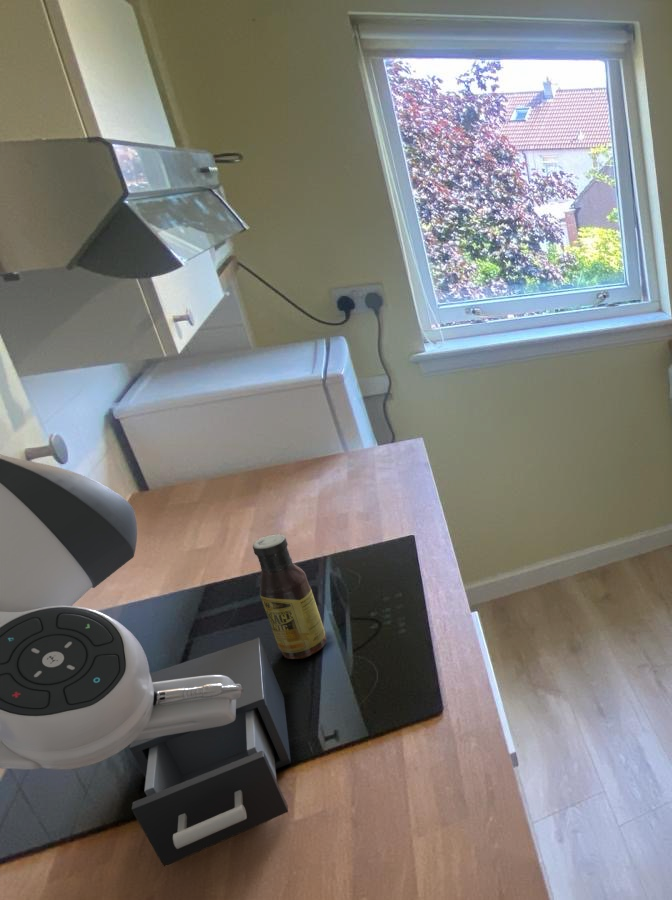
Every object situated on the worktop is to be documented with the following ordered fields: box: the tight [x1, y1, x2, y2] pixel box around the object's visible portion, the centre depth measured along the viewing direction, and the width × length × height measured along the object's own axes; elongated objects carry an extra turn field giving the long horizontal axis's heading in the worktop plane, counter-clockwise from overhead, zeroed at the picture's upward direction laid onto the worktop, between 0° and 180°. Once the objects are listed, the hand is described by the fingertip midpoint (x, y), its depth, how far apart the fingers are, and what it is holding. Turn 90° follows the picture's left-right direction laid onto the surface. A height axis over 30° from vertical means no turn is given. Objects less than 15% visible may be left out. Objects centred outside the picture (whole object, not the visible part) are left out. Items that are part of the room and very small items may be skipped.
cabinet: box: [128, 637, 292, 779], centre depth 94 cm, size 15×13×11 cm
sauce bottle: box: [252, 533, 328, 660], centre depth 111 cm, size 6×6×20 cm
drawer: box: [131, 708, 289, 867], centre depth 85 cm, size 18×12×9 cm, turn 36°
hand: (98, 737), depth 68 cm, fingers open, 8 cm apart
